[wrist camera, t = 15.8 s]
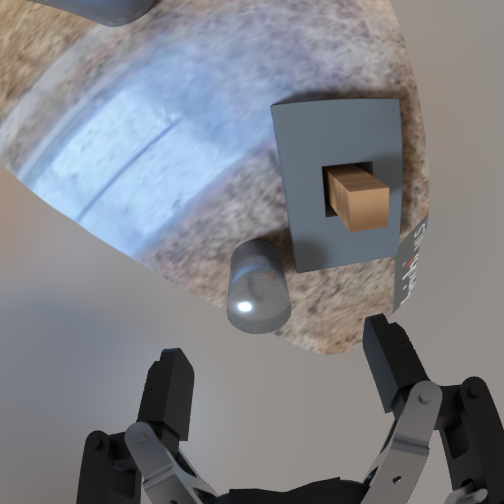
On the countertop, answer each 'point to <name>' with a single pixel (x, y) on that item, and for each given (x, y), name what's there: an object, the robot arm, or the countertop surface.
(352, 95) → the countertop surface
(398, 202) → the socket block
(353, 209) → the square peg
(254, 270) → the round peg
